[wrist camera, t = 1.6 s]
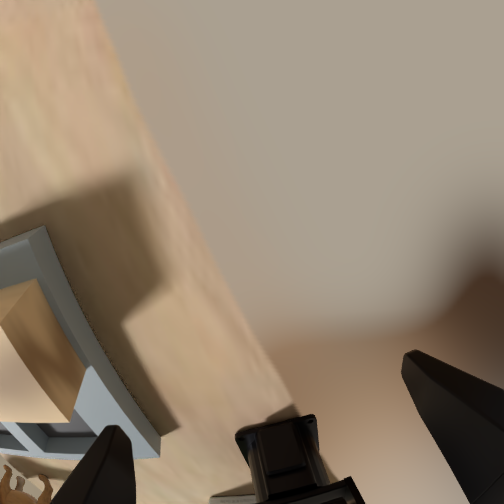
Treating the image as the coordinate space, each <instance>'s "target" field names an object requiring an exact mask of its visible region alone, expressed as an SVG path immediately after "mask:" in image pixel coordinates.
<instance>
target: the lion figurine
mask: <svg viewBox="0 0 504 504" xmlns="http://www.w3.org/2000/svg"><path fill="white" fill-rule="evenodd" d="M4 469H5V470H6V473H5V474H4V476H3V478H2V480H1V482H0V504H49V503H50V502H52V500H51V495H52V492H53V488H52V486H51V484H50V482H49V480H48V478H47V477H46V476H44V475H41V474H39V475H38V476H39V479H40V480H41V481H43V482H44V484H45V489H44V491H43V492H42V494H41V496H40V497H39V498H38V501H37V500H36V499H35V498H34V497H33V496H31V495H29V494H27V493H25V492H22V490H23V486H24V484H25V480H24V479H23V478H22V477H20V476H17V477H16V478H17V486H16V488H15V490H12V489H11V488H10V485H9V483H10V478H11V476H12V470H11V468H9V467H8V466H6V465H4Z"/></svg>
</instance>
